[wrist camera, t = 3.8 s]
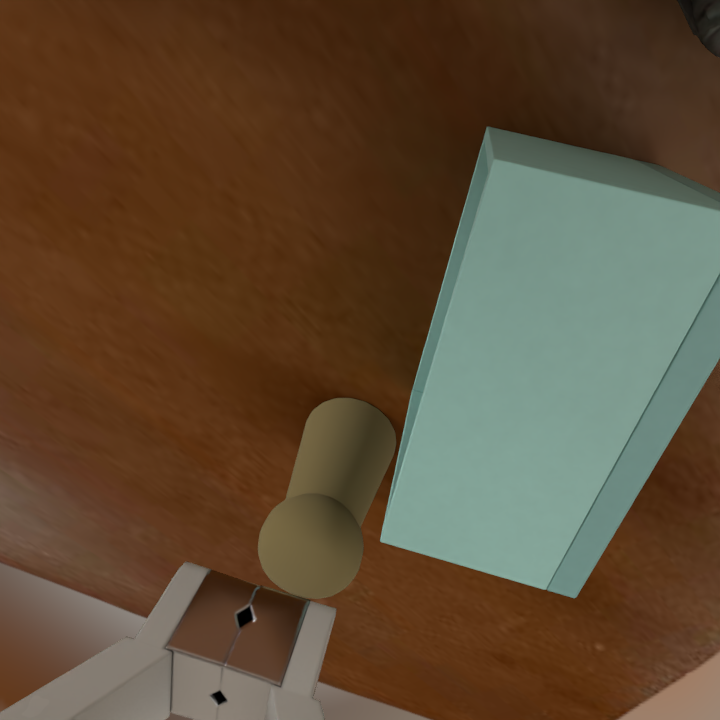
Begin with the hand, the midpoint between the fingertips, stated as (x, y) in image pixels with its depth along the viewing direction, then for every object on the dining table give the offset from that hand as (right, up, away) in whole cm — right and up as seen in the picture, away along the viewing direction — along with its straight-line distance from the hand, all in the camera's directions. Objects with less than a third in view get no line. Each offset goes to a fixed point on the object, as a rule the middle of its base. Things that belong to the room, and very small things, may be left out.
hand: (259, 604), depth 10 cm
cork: (+1, 0, +25) cm, 25 cm away
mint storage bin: (+10, +8, +18) cm, 22 cm away
